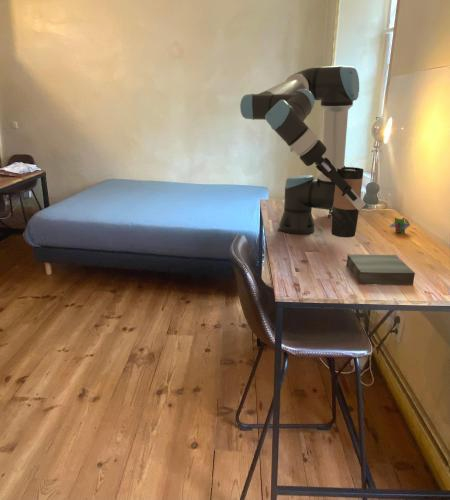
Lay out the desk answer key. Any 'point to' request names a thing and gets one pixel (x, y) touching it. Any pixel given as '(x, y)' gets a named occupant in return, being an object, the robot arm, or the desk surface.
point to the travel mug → (346, 203)
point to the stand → (380, 269)
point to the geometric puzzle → (400, 225)
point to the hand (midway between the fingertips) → (358, 203)
